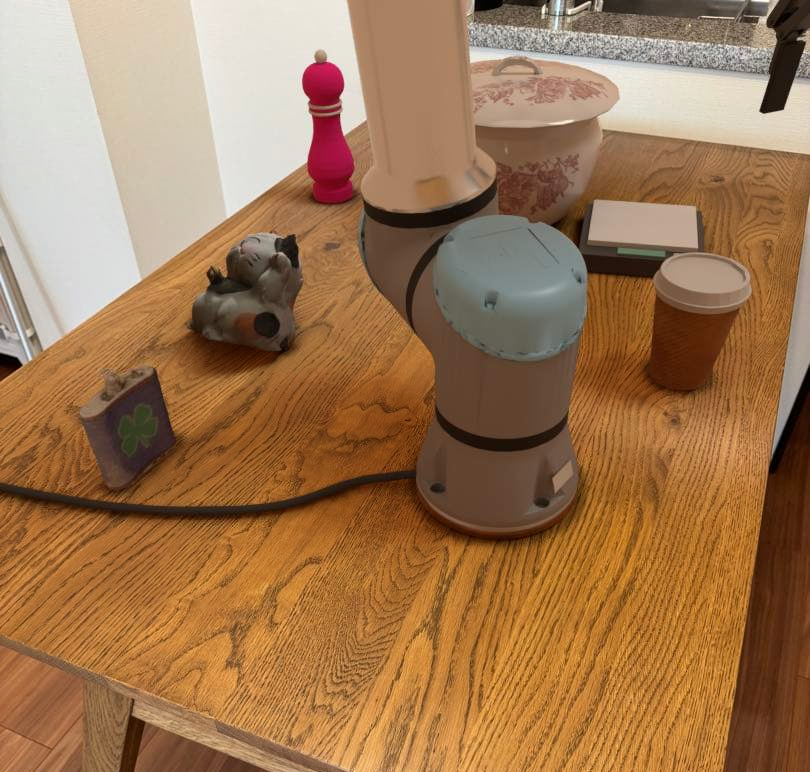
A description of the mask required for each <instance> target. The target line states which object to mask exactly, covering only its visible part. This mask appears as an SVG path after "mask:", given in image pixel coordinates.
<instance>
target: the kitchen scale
mask: <svg viewBox="0 0 810 772" xmlns="http://www.w3.org/2000/svg"><path fill="white" fill-rule="evenodd" d="M704 238H705V237H704V224H703V211H702V210H697V206H695V205H682V204H670V203H669V204H668V203H651V202H639V201H638V202H637V201H624V200H608V199H593V203H590V202H587V203H586V204H585V210H584V215H583V222H582V227H581V232H580V239H579V244H578V250H579V251H580V253H581V255H582V257H583V259H584V262H585V265H586V269H587V273H589V272H590V273H591V272H592V273H601V274H614V275H624V276H636V277H637V276H638V277H648V278H649V277H650V278H654V276H655V274H656V273H657V271H658V270H660V268H661V265H662V264H663V262H664V261H665V260H666V259H668V258H670V257H672V256H675V255H678V254H683V253H694V252H700V253H705V239H704Z"/></svg>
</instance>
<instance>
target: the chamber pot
mask: <svg viewBox="0 0 810 772" xmlns="http://www.w3.org/2000/svg"><path fill="white" fill-rule="evenodd" d="M470 67H471V81H472V95H473V109H474V123H475V137H476V146H477V147H478V148H480V149H481V150H482V151H483V152H485V153H486V154H487V155H489V156H490V157H491V158H492V159H493V160H494V162H495V164H496V174H497V189H498V208H499V215H512V216H519V217H525V218H528V220H529V222H530V223H538V222H542V223H545V224H547V225H549V226H553V225H554V224H556V223H558V222H559V221H561V220H562V219H563V218H565V217H566V216H567V214H568V213H569V212H570V211H571V210H572V208H573V207H574V205H575V204H576V203H577V202H578V200H579V199H580V198H581V196H582V195H583V194H584V192H585V191H586V189H588V188H589V186H590V184H591V183H592V180H593V177H594V174H595V171H596V169H597V166H598V162H599V159H600V156H601V150H602V145H603V144H602V143H603V137H604V136H603V134H604V133H603V127H602V123H601V120H600V118H599V117H600V116H601V115H604V114H605V113H608V112H609V111H611V110H612V109H613V107H614V106H615V105H616V104H617V103H618V102H619V100H620V99H621V97H620V91H619V87H618V85H616V84H615V83H614V82H613V81H612V80H611V79H609V78H608V76H605V75H603V74H601V73H598V72H596V71H593V70H590V69H588V68H585V67H582V66H578V65H574V64H570V63H565V62H561V61H555V60H545V59H544V60H543V59H535V58H531V57H528V56H525V55H512V56H508V57H505V58H502V59H501V58H500V59H490V60H480V61H479V60H478V61H474V62H470Z"/></svg>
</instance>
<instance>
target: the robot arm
mask: <svg viewBox="0 0 810 772" xmlns="http://www.w3.org/2000/svg"><path fill="white" fill-rule="evenodd" d="M346 5H347V12H348V18H349V23H350V29H351V35H352V40H353V47H354V52H355V57H356V64H357V70H358V75H359V81H360V88H361V93H362V100H363V104H364V112H365V118H366V123H367V128H368V135H369V139H370V140H369V141H370V147H371V153H372V160H373V164H372V165H371V166H370V168H368V170H367V172H366V173H365V174H364V176H363V178H362V180H361V183H360V193H361V199H362V204H363V208H362V209H361V212H360V215H359V220H358V225H357V245H358V250H359V255H360V259H361V261H362V263H363V267H364V269H365V271H366V273H367V276H368V278H369V280H370V282H371V283H372V284H373V286H374V287H375V289H376V290H377V291H378V293H380V295H381V296H383V297H384V298H385V299H386V300H387V301H388V302H389V303H390V304H391V306H392V307H393V308H394V310H395V311H396V312H397V313H398V314H399V316H400V317H401V318H402V319H403V321H404V322H405V324H406V325H408V326H409V328H410V329H411V330H412V331H413V333H414V334H415V335H416V337H417V338H418V339H419V340H420V342H422V344H423V345H424V346H425V348H426V349H427V350H428V351H429V353H430V354H431V357H432V360H433V363H434V415H433V418H432V421H431V423H430V426H429V427H428V429H427V432H426V435H425V437H424V440H423V443H422V445H421V448H420V450H419V452H418V456H417V458H416V459H417V460H416V465H415V468H414V469H406V470H405V469H404V470H397V471H390V472H381V473H371V474H365V475H360V476H356V477H352V478H348V479H346V480H342V481H339V482H336V483H334V484H330V485H327V486H325V487H323V488H320V489H317V490H315V491H312V492H311V491H310V492H309V493H305V494H303V495H298V496H296V497H292V498H288V499H287V498H286V499H282V500H278V501H277V500H276V501H270V502H263V503H255V504H245V505H244V504H242V505H240V504H239V505H200V506H199V505H198V506H197V505H196V506H191V505H189V506H188V505H187V506H186V505H185V506H178V505H176V506H175V505H155V504H154V505H151V504H139V503H128V502H127V503H126V502H118V501H108V500H99V499H91V498H85V497H81V496H80V497H78V496H73V495H67V494H61V493H56V492H49V491H45V490H39V489H34V488H29V487H24V486H20V485H14V484H10V483H5V482H0V492H1V493H6V494H11V495H14V496H20V497H24V498H29V499H35V500H38V501H45V502H49V503H55V504H60V505H61V504H62V505H66V506H73V507H78V508H85V509H91V510H97V511H105V512H116V513H125V514H127V513H128V514H137V515H149V516H152V515H153V516H173V517H176V516H177V517H201V516H208V517H209V516H245V515H257V514H265V513H266V514H267V513H272V512H278V511H284V510H290V509H293V508H297V507H302V506H304V505H307V504H310V503H313V502H316V501H319V500H322V499H324V498H327V497H329V496H332V495H335V494H337V493H341V492H344V491H346V490H350V489H354V488H357V487H361V486H366V485H372V484H379V483H388V482H396V481H397V482H398V481H404V480H414V479H415V489H416V494H417V497H418V499H419V501H420V503H421V505H422V506H423V508H424V509H425V510H426V511H427V513H428V514H429V515H431V516H432V518H434V519H436V520H437V521H438V522H439V523H441V524H442V525H444V526H445V527H448V528H450V529H452V530H454V531H456V532H459V533H462V534H465V535H467V536H471V537H477V538H481V539H488V540H489V539H490V540H511V539H512V540H513V539H519V538H524V537H529V536H533V535H535V534H538V533H539V534H540V533H541V532H543V531H546V530H548V529H549V528H551V527H553V526H555V525H556V524H558V523H559V522H560V521H561V520H562V519H564V517H566V515H567V514H569V512H570V510H571V509H572V507H573V505H574V504H575V503H574V502H575V500H576V497H577V493H578V487H579V485H578V484H579V477H580V476H579V465H578V460H577V457H576V451H575V447H574V443H573V440H572V436H571V432H570V427H569V422H568V419H569V413H570V407H571V400H572V399H571V398H572V393H573V389H574V381H575V375H576V369H577V363H578V358H579V357H578V356H579V352H580V345H581V340H582V339H581V338H582V333H583V329H584V324H585V322H586V318H587V313H588V271H587V269H586V265H585V262H584V259H583V257H582V255H581V253H580V251H579V250H578V249H579V247H577V245H576V244H575V243H574V242H573V241H572V240H571V239H570V238H569V237H568V236H567V235H566V234H564V233H563V232H562V231H560V230H559V229H557V228H555V227H553V226H552V225H550V226H549V225H547V224H545V223H542V222H538V223H530V222H529V220H528V218H525V217H519V216H512V215H499V208H498V189H497V174H496V164H495V162H494V160H493V159H492V158H491V157H490V156H489V155H487V154H486V153H485V152H483V151H482V150H481V149H480V148H478V147H477V146H476V137H475V123H474V109H473V95H472V81H471V67H470V63H471V55H470V54H471V53H470V42H469V41H470V40H469V27H468V13H467V12H468V11H467V0H346ZM765 25H766V27H767V28H768V29H772V30H773V31H774V33H775V39H776V43H775V46H774V50H773V53H772V57H771V59H770V63H769V65H768V74H769V78H768V82H767V86H766V88H765V90H764V94H763V97H762V100H761V103H760V107H759V110H758V112H759V113H761V114H763V115H765V114H770V113H771V114H772V113H775V112H781V111H785V107H786V104H787V101H788V99H789V96H790V92H791V89H792V87H793V84H794V81H795V78H796V75H797V71H798V69H799V66H800V63H801V59H802V57H803V54H804V51H805V48H806V44H807V41H805V40H803V39H799V38H806V37H807V33H806V32H807V31H808V30H810V0H778V1H777V2H776V4H775V5H774V6H773V8H772V10H771V11H770V13H769V14H768V16H767V18H766V20H765Z"/></svg>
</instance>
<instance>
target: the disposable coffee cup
mask: <svg viewBox="0 0 810 772" xmlns="http://www.w3.org/2000/svg"><path fill="white" fill-rule="evenodd" d="M652 283H653V287H654V292H655V297H654V309H653V319H652V331H651V332H652V333H651V342H650V343H651V344H650V355H649V366H648V374H649V376H650V377H651V379H652V380H653V381H654V382H655V383H657V384H658V385H660V386H662V387H665V388H668V389H671V390H676V391H691V390H696V389H699V388H701V387H702V386H704V385H705V384H707V381H708V380H709V377H710V375H711V373H712V371H713V369H714V366H715V364H716V362H717V360H718V357H719V356H720V353H721V351H722V349H723V346H724V345H725V343H726V340H727V339H728V336H729V334H730V332H731V329H732V328H733V325H734V323H735V321H736V319H737V316H738V314H739V312H740V310H741V307H742V306H743V305H744V304H745V303H746V302H747V300H749V299H750V297H751V294H752V292H753V290H752V289H753V288H752V284H751V274H750V272H749V270H748V268H746V267H745V266H744V265H743V264H741V262H738V261H736V260H735V259H733V258H731V257H727V256H724V255H721V254H716V253H709V252H704V253H700V252H694V253H683V254H678V255H675V256H672V257H670V258H668V259H666V260H665V261H664V262H663V264H662V265H661V268H660V270H658V271H657V273H656V274H655V276H654V277H653V281H652Z"/></svg>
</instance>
